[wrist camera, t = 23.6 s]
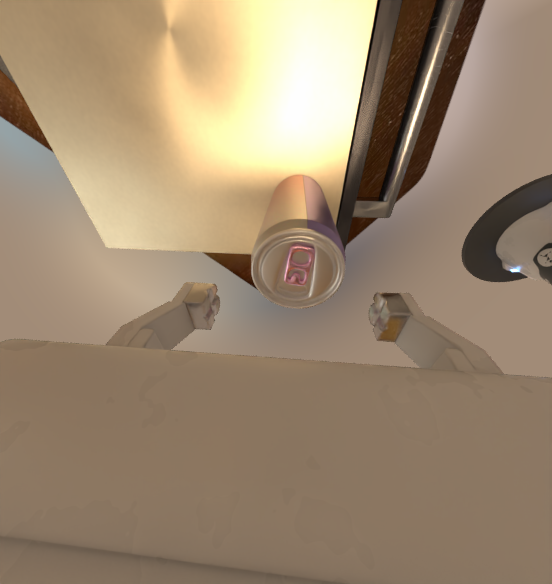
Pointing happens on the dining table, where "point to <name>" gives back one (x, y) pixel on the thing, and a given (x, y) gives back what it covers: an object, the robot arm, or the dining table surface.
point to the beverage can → (298, 247)
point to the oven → (190, 107)
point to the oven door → (414, 112)
